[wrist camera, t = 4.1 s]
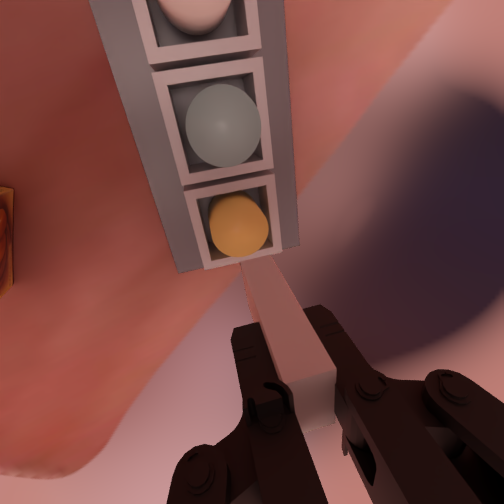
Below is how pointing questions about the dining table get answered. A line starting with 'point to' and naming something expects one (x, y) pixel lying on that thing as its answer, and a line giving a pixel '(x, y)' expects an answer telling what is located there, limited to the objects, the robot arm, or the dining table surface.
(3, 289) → the candy box
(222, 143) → the teal button
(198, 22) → the ivory button
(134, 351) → the dining table surface
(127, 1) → the button panel
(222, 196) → the mustard button
